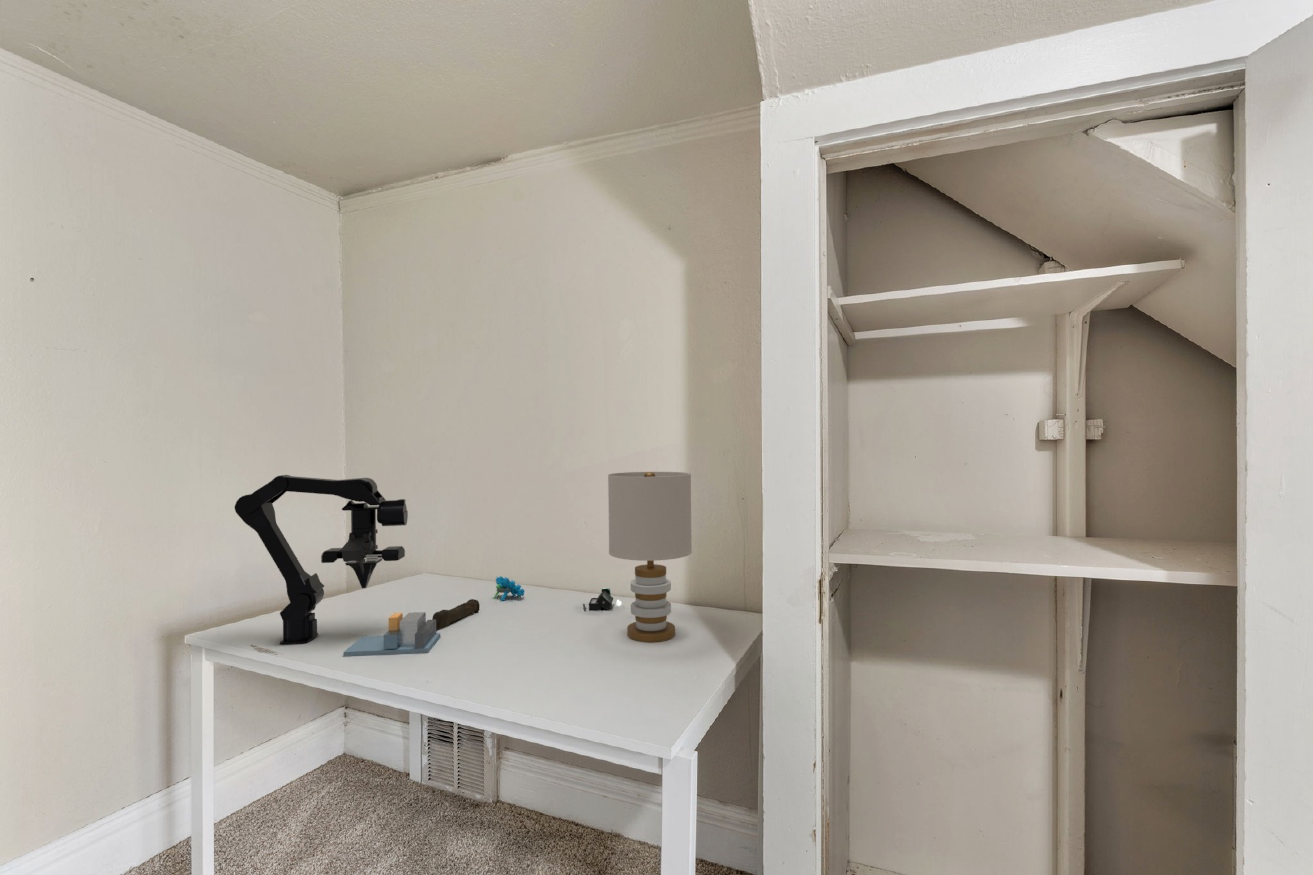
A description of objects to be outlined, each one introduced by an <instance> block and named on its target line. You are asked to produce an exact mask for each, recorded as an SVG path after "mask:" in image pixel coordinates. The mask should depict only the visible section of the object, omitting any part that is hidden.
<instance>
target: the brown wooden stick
mask: <svg viewBox="0 0 1313 875" xmlns="http://www.w3.org/2000/svg"><path fill="white" fill-rule="evenodd" d="M480 610H481V609H480V602H479V600H478V599H477V600H476V599H473V598H471V599H470V598H469V599H468V600H467V601H466V602H464V603H461V604H459V605H457V606H456V607H454V608H450V609H442V610H440V611H436V612H435V613H433V615H432V619H431V620H436V631H440V630H442V629H445V628H448V627H449V626H450V624H451V623H453V622H455V621H458V620H459V619H462V618H464V617H466V616H469V615H471V614H473V613H475V614H476V613H477V614H478V613H479V611H480Z"/></svg>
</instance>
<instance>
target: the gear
mask: <svg viewBox="0 0 1313 875" xmlns="http://www.w3.org/2000/svg"><path fill="white" fill-rule="evenodd" d="M495 584H496V585H495V589H496V593H495V594H494V596H493V598H494V599H497V597H498V596H499V594H500V593H501V594H502V593H503V594H502V596H501V598H500V599H499V600H500V601H501V602H503V601H505V599H506V597H507V595H509V594H511V595H512V596H517V597H518V598H519V597H521V596H522V597H524V595H525V589H524V588H522V586H521V584H517V585H516V581H515V580H513V579H511V580H510V579H509V578H508V577H503V576H501V575H500V576H496V578H495Z"/></svg>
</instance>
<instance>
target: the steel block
mask: <svg viewBox="0 0 1313 875" xmlns="http://www.w3.org/2000/svg"><path fill="white" fill-rule="evenodd" d="M426 613H427V612H426V611H422V612H421V611H418V612H415V611H414V612H408V613H407V614H406V615H405V616H403V619H402V620H401V621H400V647H402V646H415V633H416V632H417V631H418V630H419V629H420V628H421V627H422V626H423V625H424V624H425V623H426V621H427V620H426V619H427V618H426V616H427V614H426Z"/></svg>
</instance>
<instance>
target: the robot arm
mask: <svg viewBox="0 0 1313 875" xmlns="http://www.w3.org/2000/svg"><path fill="white" fill-rule="evenodd" d="M287 492H289V493H290V492H292V493H293V492H294V493H304V494H305V493H306V494H317V495H331V496H336V497H340V498H341V499H346V500H349V501H347V503H346V504H345V506H343V507H341V511H350V530H351V531H350V532H349V534H348V539H347V542H346V543H345V544H344V545H343V546H342V547H331V548H329V549H326V550H324V551H323V552H322V553H321V555H320V559H321V560H320V561H321V563H322V564H329V563H330V564H331V563H335V562H337V560H339V559H341V560H342V561H343V562H344V563H345V566H350V568H351V569H353V571H354V573H355V575H356V577H357V579H358V582H359V584H360V587H361V589H366V588H367V587H368V585H369V582H370V580H371V577H372V576H373V573H374V570H375V568H376V566H377V564H378V563H380V562H382V561H384V562H394V561H395V562H397V561H400V560H401V559H403V558H404V557H406V550H405V547H404V546H402V545H399V546H398V545H394V546H393V545H392V546H386V547H385V548H383V549H379V548H378V547H379V546H378V544H377V534H378V528H377V523H378V524H381V526H382V527H397V526H407V524H408V517H409V516H408V514H409V513H408V511H409V510H408V508H407V504H406V499H404V498H400V499H393V500H392V499H391V500H387V499H385V497H384V496H383V494H381V492H380V491H379V490H378V485H377V483H376V482H375V480H374V479H372V478H369V477H359V478H348V479H346V478H345V479H331V478H320V477H319V478H318V477H306V476H296V475H295V476H294V475H293V476H292V475H290V474H282V475H277V476H275V477H274V478H273V479H272V480H270V481H269V482H268V483H266V484H264V485H263V486H261V487H259V488H258V489H256V490H255V491H253V492H252V493H248V494H245V495H242V496H241V497H239V498H238V499H237V500H236V502H235V505H234V512H235V513H236V515H237V517H238V516H239V518H240V519H241V520H242V521H243V522H244V523H245V525H246V526H249V528H251V529H252V530H254V531H255V532H256V533H257V535H258V537H259V538H260V541H261V542H262V543H263V546H264V547H265V548H266V550H267V552H268V554H269V555H270V557H271V559H272V560H273V563H274V564H275V565H276V567H277V569H278V571H279V572H280V574H281V576H282V577H283V579H284V580H285V584H286V585H285V587H286V594H287V597H288V600H289V603H288V604H287V605H286V606H285V607H284V608H283V609H282V610H280V612H279V615H280V618H281V620H282V638H283V639H282V640H280V641H279V645H286V644H287V645H288V644H306V643H309V642H310V641H311V640H313V639H315V638H316V637H317V636H318V635H319V632H318V619H317V618H316V613H315V612H313V611H314V610H315V609H316V607H317V605H318V604H320V603H321V601H322V600H323V598H324V595H325V590H324V587H325V584H323V583H322V582H321V580H320V577H319V575H318V574H317V573H313V574H312V575H311V574H309V573H308V572H307V571H305V570H304V568H303V566H302V565H301V563H300V561H299V559H298V557H297V555H296V554H295V552H294V550H293V549H292V547H291V546H290V544H289V542H288V540H287V538H286V537H285V536H284V534H283V532H282V530H281V529H280V527H279V525H278V524H277V519H276V510H275V507H274V505H273V504H274V503H276V501H278V500H279V499H280V498H282V496H283V495H285V494H286V493H287ZM378 549H379V550H378Z"/></svg>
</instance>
